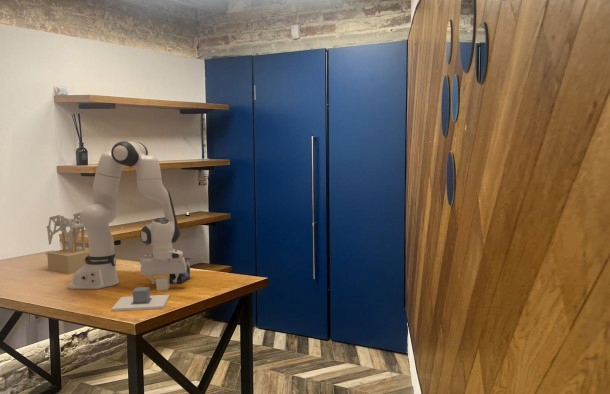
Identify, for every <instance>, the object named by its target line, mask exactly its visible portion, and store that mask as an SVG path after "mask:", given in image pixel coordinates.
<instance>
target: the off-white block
mask: <svg viewBox="0 0 610 394" xmlns="http://www.w3.org/2000/svg"><path fill="white" fill-rule="evenodd" d="M155 280H156V284H155V286H156V291H168V290H169V289H170V284H171V283H170V276H158V277H157V278H156V279H155Z"/></svg>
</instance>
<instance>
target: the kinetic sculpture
mask: <svg viewBox="0 0 610 394" xmlns="http://www.w3.org/2000/svg"><path fill="white" fill-rule="evenodd" d="M80 214H81V212H78V213H74V214H72V216H73V218H70V219H69V218H67V217H65V216H64V215H61V214H58V215H54V216H49V219H48V225H47V226H46V229H47V230H46V231H47V239H48V245H49V246H50V245H51V244H52V241H53V236H54V235H56V233H58V232H61V239H62V240H61V241H62V243H61V245H62V249H60V250H55V251H54V250H53V251H47V252H45V255H46V256H47V268H46V272H55V273H59V274H65V275H72V274H73V275H74V273H75V272H76V271H77V270H78V269H80V268H81V267H82V266H83V265H85V264H86V262H85V261H84V260H85V257H87V255H89V247H86V244H85V243H86V242H85V241H86V240H85V239H86V238H85V226H84V225H83V224H82V222H81V220H80ZM51 222H53V224H54V227H53V230H52V229H51V224H52V223H51ZM57 227H58V228H57ZM67 228H69V230H67ZM79 233H81V246H77V240H78V237H79ZM66 241H67V245H68V247H69V248H66Z"/></svg>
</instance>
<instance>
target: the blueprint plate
mask: <svg viewBox="0 0 610 394" xmlns="http://www.w3.org/2000/svg"><path fill="white" fill-rule="evenodd" d="M170 295H171V294H159V295H158V294H156V295H155V294H153V295H150V299H149V301H148V302H147V303H133V295H132V296H121V297H120V298H119V300H117V302H115V304H114V305H113V306H112V307H111V312H123V311H140V310H141V311H144V310H162V309H164V308H165V306H166V305H167V303H168V301H169V299H170V297H171V296H170Z"/></svg>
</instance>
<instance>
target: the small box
mask: <svg viewBox="0 0 610 394" xmlns="http://www.w3.org/2000/svg"><path fill="white" fill-rule="evenodd" d="M184 259H185V262H186V272H185V273H181V274H179V276H178V278H177V283H176V284H183V283H184V282H186V281H188V280H190V279H191V258H190V257H184ZM175 278H176V276H175V274H169V282H170V284H174V283H173V279H175Z"/></svg>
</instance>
